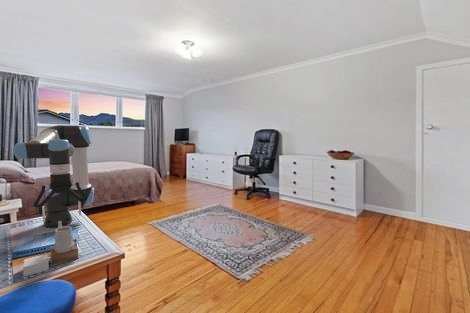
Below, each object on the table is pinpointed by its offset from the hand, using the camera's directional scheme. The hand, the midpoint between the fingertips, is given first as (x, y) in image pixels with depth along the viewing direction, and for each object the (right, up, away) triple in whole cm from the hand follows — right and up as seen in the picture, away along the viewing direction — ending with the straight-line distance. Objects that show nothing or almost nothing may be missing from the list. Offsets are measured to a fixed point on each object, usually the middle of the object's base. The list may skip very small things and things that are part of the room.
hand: (62, 217), depth 110 cm
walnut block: (0, -19, +1) cm, 20 cm away
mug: (0, -15, +1) cm, 15 cm away
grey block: (-5, -20, -8) cm, 22 cm away
